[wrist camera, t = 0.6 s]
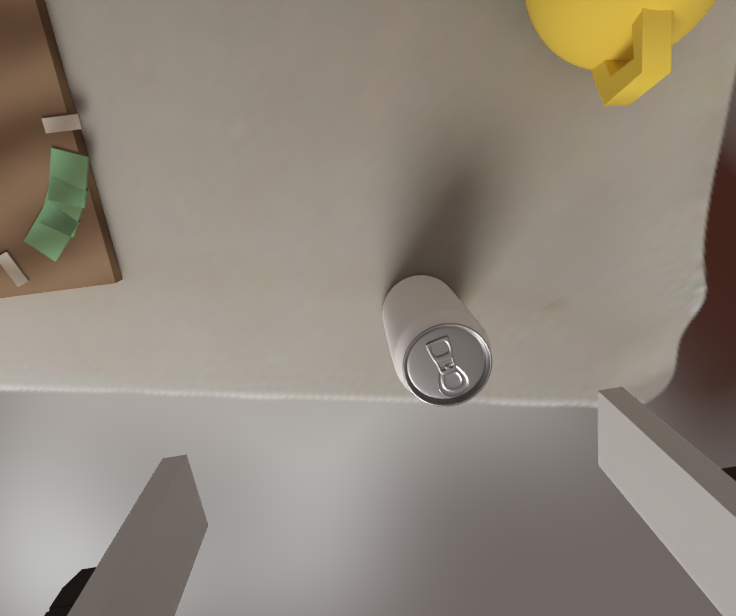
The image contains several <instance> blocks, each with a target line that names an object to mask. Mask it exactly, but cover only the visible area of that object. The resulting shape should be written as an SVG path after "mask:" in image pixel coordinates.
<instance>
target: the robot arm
mask: <svg viewBox="0 0 736 616" xmlns="http://www.w3.org/2000/svg"><path fill="white" fill-rule="evenodd" d="M598 465H599V466H600V467H601V469H602V470H603V471H604V472H605V473H606V475H607V476H608V477H609V478H610V480H611V481H612V482H613V483H614V484H615V486H616V487H617V488H618V489H619V490H620V492H621V493H622V494H623V495H624V496H625V498H626V499H627V500H628V501H629V503H630V504H631V505H632V506H633V507H634V508H635V510H636V511H637V512H638V513H639V515H640V516H641V517H642V518H643V519H644V521H645V522H646V523H647V524H648V526H649V527H650V528H651V529H652V530H653V532H654V533H655V534H656V535H657V536H658V538H659V539H660V540H661V541H662V542H663V544H664V545H665V546H666V547H667V549H668V550H669V551H670V552H671V553H672V554H673V556H674V557H675V558H676V560H677V561H678V562H679V563H680V564H681V566H682V567H683V568H684V569H685V570H686V572H687V573H688V574H689V575H690V577H691V578H692V579H693V580H694V581H695V583H696V584H697V585H698V586H699V587H700V589H701V590H702V591H703V592H704V594H705V595H706V596H707V597H708V598H709V600H710V601H711V602H712V603H713V604H714V606H715V607H716V608H717V609H718V610H719V611H720V613H721V614H722V615H723V616H736V467H729V468H723V469H720V468H719V467H718V466H717V465H716V464H714V463H713V462H712V461H710V460H709V459H708V458H707V457H706V456H704V455H703V454H702V453H701V452H700V451H699V450H697V449H696V448H695V447H693V446H692V445H691V444H690V443H689V442H688V441H686V440H685V439H684V438H683V437H681V435H679V434H678V433H677V432H676V431H674V430H673V429H672V428H671V427H669V426H668V425H667V424H666V423H665V422H664V421H662V420H661V419H660V418H659V417H658V416H656V415H655V414H654V413H653V412H652V411H650V410H649V409H648V408H647V407H646V406H644V405H643V404H642V403H641V402H639V401H638V400H637V399H636V398H635V397H633V396H632V395H631V394H630V393H629V392H627V391H626V390H625V389H624V388H623V387H619V388H612V389H606V390H599V391H598ZM207 527H208V523H207V520H206V517H205V513H204V510H203V507H202V503H201V500H200V497H199V494H198V491H197V487H196V484H195V481H194V477H193V474H192V471H191V468H190V464H189V462H188V458H187V455H182V456H176V457H169V458H163V459H162V460H161V462H160V464H159V465H158V467H157V468H156V470H155V472H154V473H153V475H152V477H151V479H150V480H149V482H148V483H147V485H146V487H145V488H144V490H143V492H142V494H141V495H140V496H139V498H138V500H137V502H136V503H135V505H134V506H133V508H132V510H131V511H130V513H129V515H128V516H127V518H126V520H125V521H124V523H123V524H122V526H121V528H120V529H119V531H118V533H117V534H116V536H115V538H114V539H113V541H112V543H111V544H110V546H109V548H108V549H107V551H106V552H105V554H104V556H103V557H102V559H101V561H100V562H99V564H98V566H97V567H95V568H88V569H82V570H81V571H80V572H79V573H78V574H77V575H76V576H75V577H74V578H72V579H71V580H70V581H69V582H68V583H67V584H66V585H65V586H64V587H63V588H62V590H61V591H60V593H59V594H58V596H57V597H56V599H55V600H54V602H53V603H52V605H51V606H50V610H49V612H46V614H45V615H44V616H175V613H176V610H177V607H178V605H179V602H180V599H181V597H182V594H183V591H184V589H185V586H186V583H187V580H188V578H189V575H190V573H191V570H192V567H193V565H194V562H195V559H196V556H197V554H198V551H199V548H200V546H201V543H202V540H203V538H204V535H205V532H206V530H207Z"/></svg>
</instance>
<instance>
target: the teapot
mask: <svg viewBox="0 0 736 616" xmlns="http://www.w3.org/2000/svg"><path fill="white" fill-rule="evenodd" d="M715 2H716V0H525V3H526V7H527V10H528V13H529V17H530V19H531V21H532V23H533V26H534V28H535V30H536V31H537V33H538V34H539V36H540V38H541V39H542V40H543V41H544V43H545V44H546V45H547V46H548V47H549V48H550V49H551V50H552V51H553V52H554V53H555V54H556V55H558V56H559V57H561V58H562V59H564V60H566V61H567V62H569V63H572V64H574V65H576V66H578V67H582V68H585V69H589V70H590V71H591V73H592V76H593V78H594V81H595V84H596V86H597V89H598V92H599V94H600V97H601V99H602V102H603V105H604V106H622V105H630V104H632V103H633V102H634V101H635V100H637V99H638V98H639V97H640V96H642V95H643V94H644V93H645V92H647V91H648V90H649V89H650V88H652V87H653V86H654V85H655V84H657V83H658V82H659V81H660V80H662V79H663V78H664V77H665V76H667V75H668V74H669V73H670V72H671V54H672V46H673V45H674V44H675V43H676V42H678V41H679V40H680V39H681V38H683V37H684V36H685V35H686V34H687V33H688V32H690V31H691V30H692V29H693V28H694V27H695V26H696V25H697V24H698V23H699V21H700V20H701V19H702V18H703V17H704V16H705V14H706V13H707V12H708V11H709V9H710V8H711V7H712V6H713V4H714V3H715Z"/></svg>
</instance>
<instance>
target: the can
mask: <svg viewBox="0 0 736 616" xmlns="http://www.w3.org/2000/svg"><path fill="white" fill-rule="evenodd" d="M382 315H383V322H384V327H385V331H386V335H387V340H388V344H389V348H390V352H391V356H392V360H393V363H394V367H395V370H396V373H397V375H398V377H399V379H400V380H401V382H402V383H403V385H404V386H405V387H406V388H407V389H408V390H409V391H411V392H412V393H413V394H414V395H415V396H416V397H417V398H418V399H420V400H422V401H423V402H425V403H428V404H430V405H434V406H441V407H448V406H454V405H459V404H462V403H464V402H466V401H468V400H470V399H472V398H473V397H474V396H476V395H477V394H478V393H479V392H480V391H481V390H482V389H483V387H484V386H485V384H486V383H487V381H488V379H489V376H490V373H491V369H492V356H491V346H490V341H489V338H488V336H487V334H486V332H485V330H484V328H483V327H482V326H481V324H480V323H479V322H478V320H477V319H476V318H475V317H474V316H473V314H472V313H471V312H470V311H469V310H468V308H467V307H466V306H465V305H464V304H463V303H462V301H461V300H460V299H459V298H458V297H457V296H456V294H455V293H454V292H453V291H452V290H451V289H450V288H449V287H448V286H447V285H446V284H445V283H444V282H442V281H441V280H439V279H437V278H434V277H431V276H426V275H417V276H412V277H408V278H406V279H404V280H402V281H400V282H399V283H397V284H396V285H395V286H394V287H393V288H392V289H391V290H390V291H389V293H388V295H387V296H386V298H385V301H384V304H383V312H382Z"/></svg>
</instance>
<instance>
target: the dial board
mask: <svg viewBox="0 0 736 616" xmlns="http://www.w3.org/2000/svg"><path fill="white" fill-rule="evenodd" d="M80 129H83V126H82V123H81V119H80V116H79V114H76V112H75V108H74V105H73V101H72V98H71V94H70V91H69V87H68V83H67V80H66V76H65V73H64V69H63V66H62V62H61V58H60V55H59V51H58V48H57V44H56V40H55V37H54V33H53V30H52V26H51V23H50V19H49V15H48V12H47V8H46V5H45V1H44V0H0V298H5V297H12V296H20V295H27V294H35V293H43V292H50V291H58V290H66V289H73V288H81V287H88V286H96V285H104V284H111V283H116V282H118V281H120V280H122V276H121V273H120V269H119V266H118V262H117V259H116V255H115V251H114V248H113V244H112V241H111V237H110V234H109V230H108V226H107V223H106V219H105V216H104V212H103V209H102V205H101V201H100V198H99V194H98V191H97V187H96V183H95V180H94V176H93V173H92V169H91V166H90V162H89V157H88V155H87V151H86V148H85V144H84V141H83V137H82V133H81V130H80Z"/></svg>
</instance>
